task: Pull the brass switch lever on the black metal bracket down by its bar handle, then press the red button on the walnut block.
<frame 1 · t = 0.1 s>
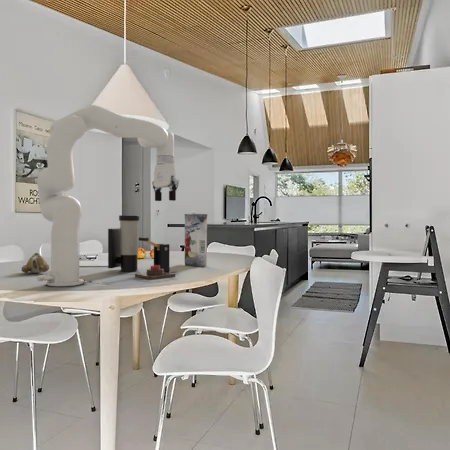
hand: (165, 200, 187), 31 cm above the table, tool pointing down, fingers open, 9 cm apart
switch lever: (153, 244, 178), point 13 cm above the table, hinge at 25.0°
button block: (155, 279, 168), on the table
juice carton: (195, 266, 213), on the table
button: (155, 267, 168), point 4 cm above the table, slide at 0.1 cm
ceramic sculpture: (36, 273, 185), on the table
light fixture: (126, 273, 185), on the table
switch bracket: (161, 274, 181), on the table
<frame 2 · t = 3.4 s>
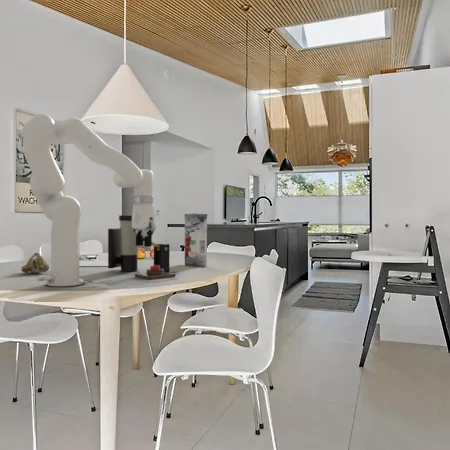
hand: (143, 245, 175), 13 cm above the table, tool pointing down, fingers closed on switch lever, 5 cm apart
switch lever: (153, 244, 178), point 13 cm above the table, hinge at 25.0°, touching gripper
everything else where it was.
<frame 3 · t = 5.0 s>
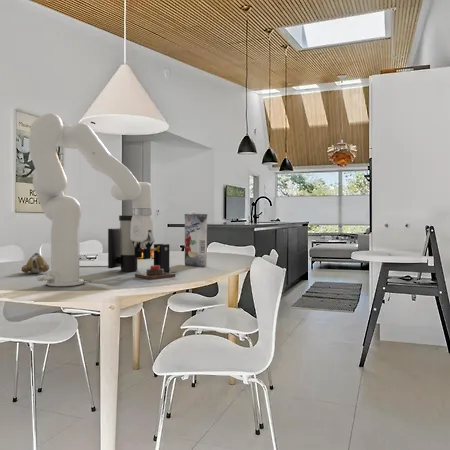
hand: (142, 257, 174), 8 cm above the table, tool pointing down, fingers closed on switch lever, 5 cm apart
switch lever: (152, 249, 178), point 11 cm above the table, hinge at -1.9°, touching gripper
everything else where it was.
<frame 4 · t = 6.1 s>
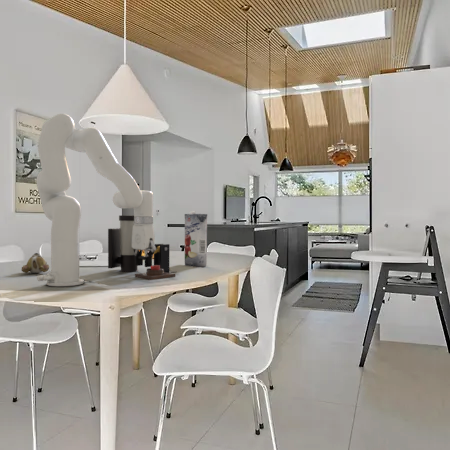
hand: (143, 265, 175), 5 cm above the table, tool pointing down, fingers open, 5 cm apart
switch lever: (153, 252, 178), point 9 cm above the table, hinge at -19.6°
everything else where it was.
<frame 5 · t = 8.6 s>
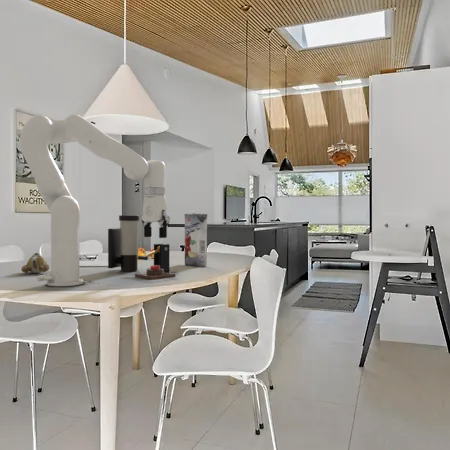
hand: (155, 237, 168), 16 cm above the table, tool pointing down, fingers open, 9 cm apart
nothing on the table moved.
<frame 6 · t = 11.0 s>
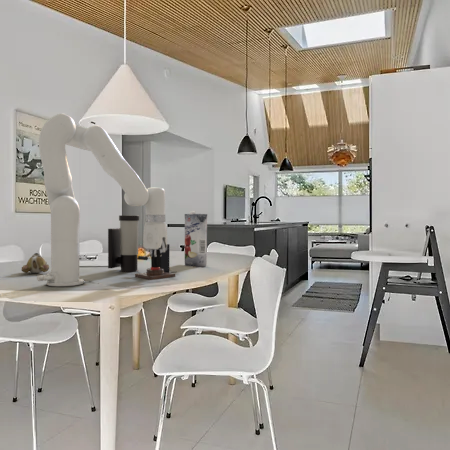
hand: (155, 266, 168), 5 cm above the table, tool pointing down, fingers closed
button: (155, 269, 168), point 4 cm above the table, slide at -0.5 cm, touching gripper
everything else where it was.
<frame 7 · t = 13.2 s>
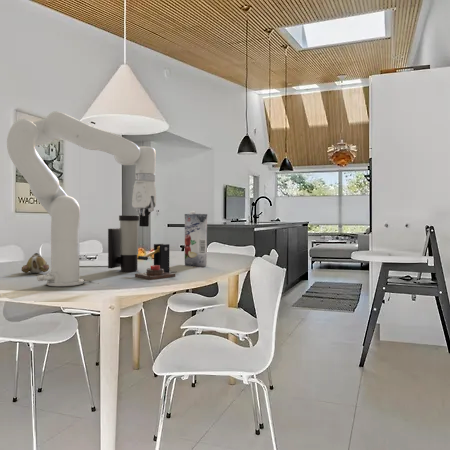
hand: (144, 226, 168), 21 cm above the table, tool pointing down, fingers closed
button: (155, 267, 168), point 4 cm above the table, slide at 0.1 cm
everything else where it was.
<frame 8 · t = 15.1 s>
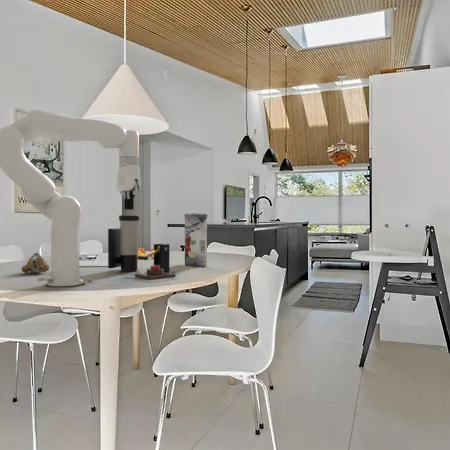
hand: (128, 209, 169), 27 cm above the table, tool pointing down, fingers closed
nothing on the table moved.
at the end: switch lever at -20° (first picture: +25°); button pushed in 1.1 cm at the most during the clip and back out by the end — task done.
